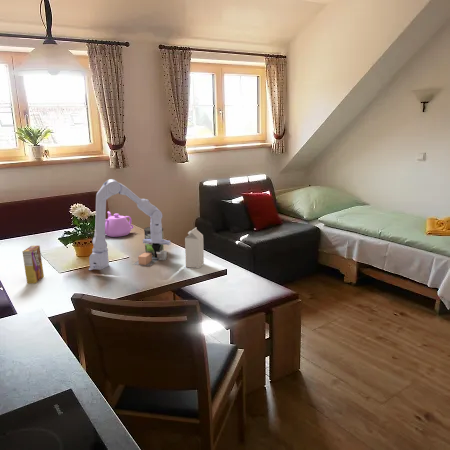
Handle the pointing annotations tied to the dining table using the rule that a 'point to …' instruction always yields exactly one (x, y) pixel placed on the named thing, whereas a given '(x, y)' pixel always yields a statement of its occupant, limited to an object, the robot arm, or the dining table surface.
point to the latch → (161, 255)
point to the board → (148, 263)
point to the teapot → (117, 225)
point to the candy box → (33, 264)
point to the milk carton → (194, 249)
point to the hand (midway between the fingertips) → (157, 257)
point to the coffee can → (148, 245)
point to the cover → (145, 258)
